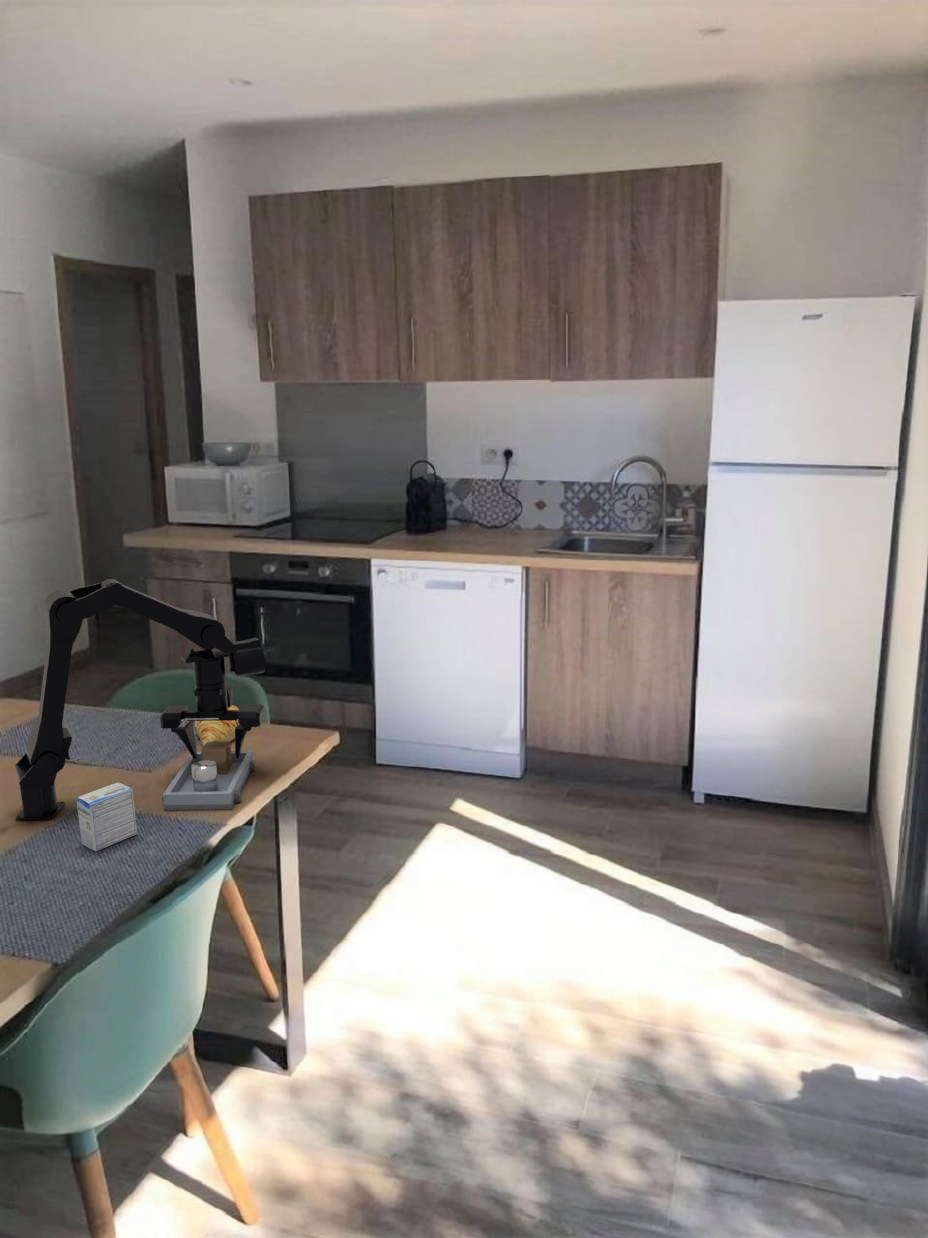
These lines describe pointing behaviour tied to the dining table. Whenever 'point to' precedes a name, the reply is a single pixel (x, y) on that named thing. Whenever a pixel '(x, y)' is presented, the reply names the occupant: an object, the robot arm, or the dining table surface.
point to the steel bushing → (204, 776)
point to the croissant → (216, 729)
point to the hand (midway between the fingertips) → (216, 758)
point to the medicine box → (106, 816)
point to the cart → (227, 795)
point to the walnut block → (218, 755)
